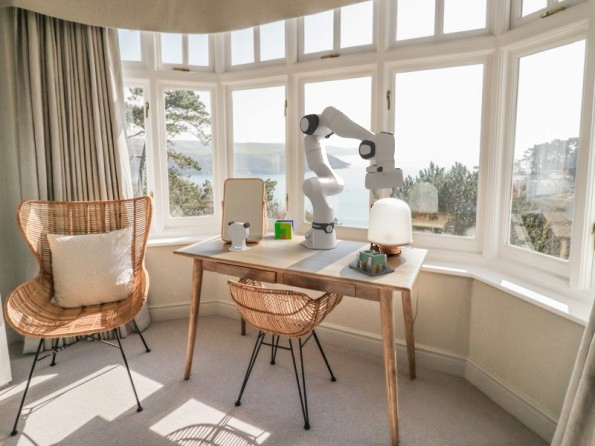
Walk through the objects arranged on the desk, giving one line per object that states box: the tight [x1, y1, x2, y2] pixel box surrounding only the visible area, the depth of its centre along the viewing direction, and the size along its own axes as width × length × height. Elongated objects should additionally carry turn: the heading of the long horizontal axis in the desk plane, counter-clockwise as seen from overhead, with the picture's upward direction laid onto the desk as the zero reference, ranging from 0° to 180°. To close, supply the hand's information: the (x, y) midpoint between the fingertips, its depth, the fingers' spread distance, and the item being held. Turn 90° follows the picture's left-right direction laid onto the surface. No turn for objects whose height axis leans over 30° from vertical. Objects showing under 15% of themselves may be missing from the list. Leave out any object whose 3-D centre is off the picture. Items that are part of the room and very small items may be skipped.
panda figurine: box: [227, 221, 251, 253], centre depth 213 cm, size 12×11×15 cm
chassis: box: [348, 252, 395, 277], centre depth 175 cm, size 16×13×7 cm
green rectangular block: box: [358, 249, 384, 265], centre depth 175 cm, size 10×6×5 cm, turn 32°
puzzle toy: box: [274, 219, 295, 240], centre depth 240 cm, size 10×10×10 cm
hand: (384, 198), depth 178 cm, fingers open, 8 cm apart
